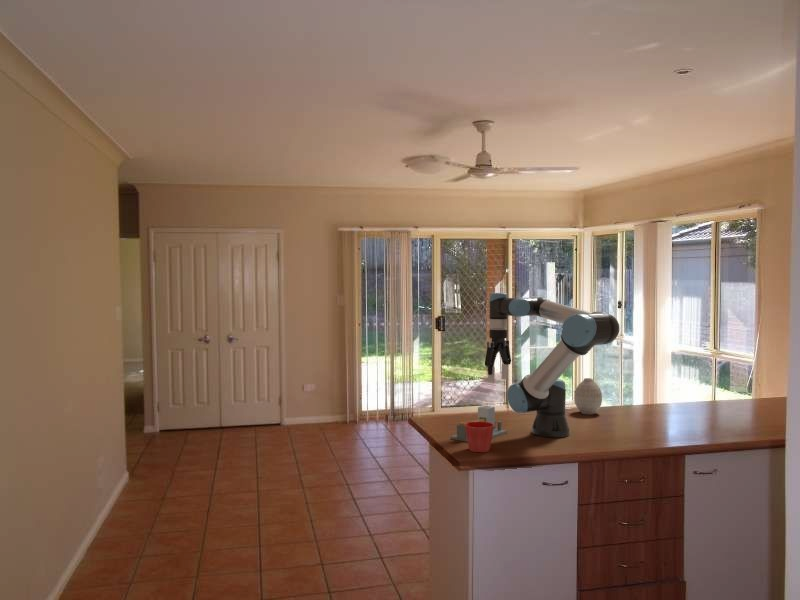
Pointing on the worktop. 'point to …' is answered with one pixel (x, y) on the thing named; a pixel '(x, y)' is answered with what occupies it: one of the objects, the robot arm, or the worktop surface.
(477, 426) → the flower pot
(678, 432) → the worktop surface
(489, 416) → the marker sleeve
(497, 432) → the cable comb
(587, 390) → the vase
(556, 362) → the robot arm
